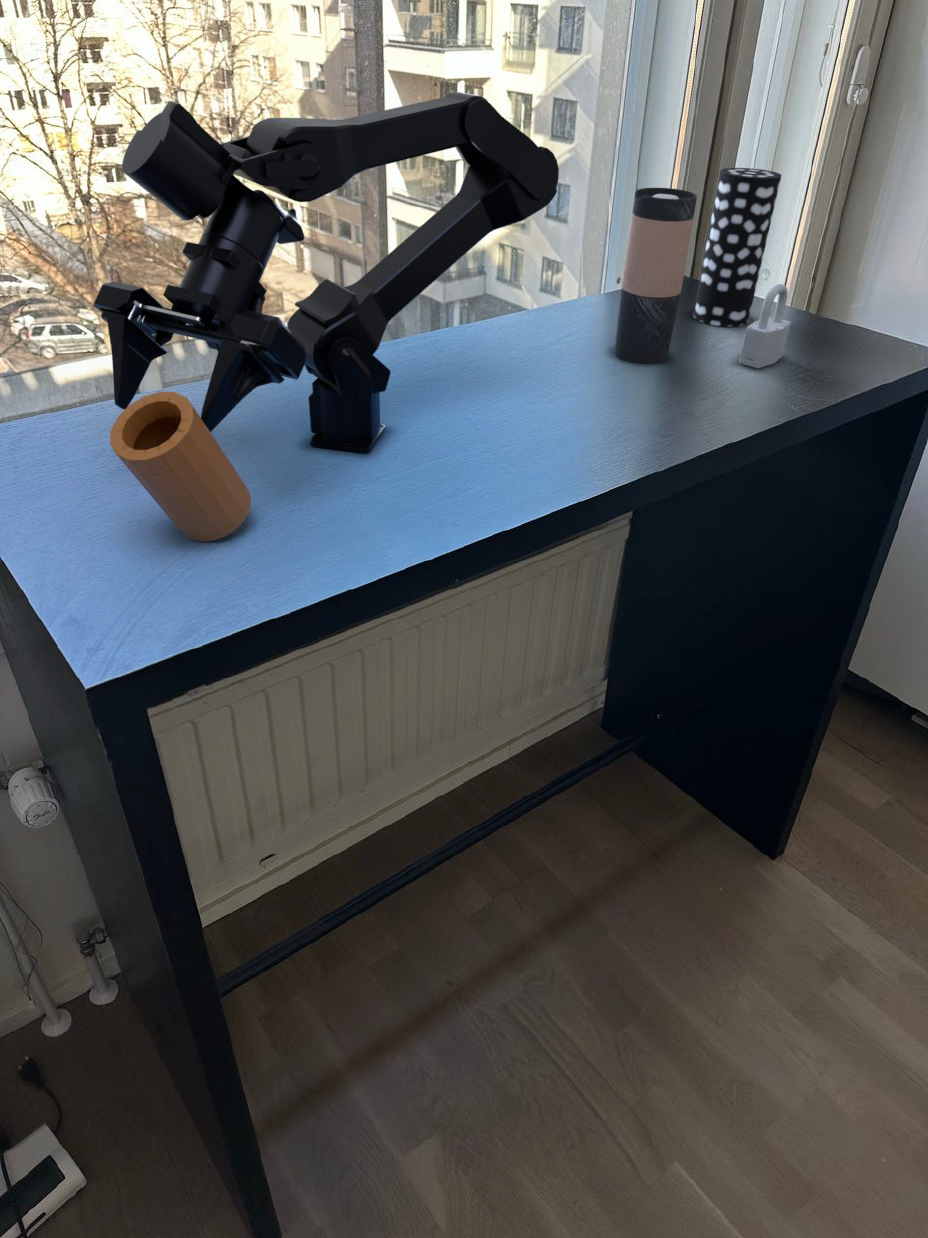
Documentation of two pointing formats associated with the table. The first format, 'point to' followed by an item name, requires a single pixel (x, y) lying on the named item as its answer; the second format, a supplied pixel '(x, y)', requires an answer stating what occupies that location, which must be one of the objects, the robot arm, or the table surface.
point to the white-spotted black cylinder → (735, 245)
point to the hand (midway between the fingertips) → (161, 418)
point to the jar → (181, 465)
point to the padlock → (767, 332)
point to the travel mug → (653, 273)
